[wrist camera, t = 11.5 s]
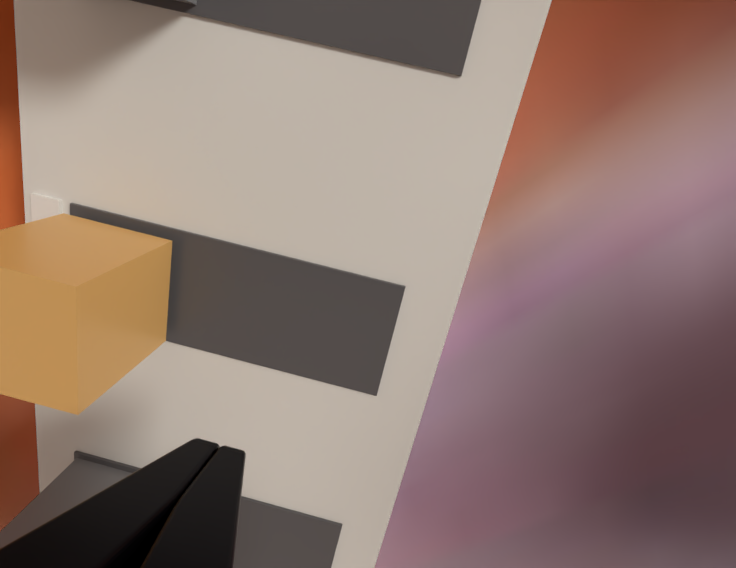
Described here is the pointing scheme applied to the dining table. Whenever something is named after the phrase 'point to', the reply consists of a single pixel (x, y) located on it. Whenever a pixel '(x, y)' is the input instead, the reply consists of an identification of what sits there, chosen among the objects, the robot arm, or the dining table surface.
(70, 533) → the robot arm
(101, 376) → the handle
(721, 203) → the dining table surface
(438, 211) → the breaker panel
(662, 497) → the dining table surface
